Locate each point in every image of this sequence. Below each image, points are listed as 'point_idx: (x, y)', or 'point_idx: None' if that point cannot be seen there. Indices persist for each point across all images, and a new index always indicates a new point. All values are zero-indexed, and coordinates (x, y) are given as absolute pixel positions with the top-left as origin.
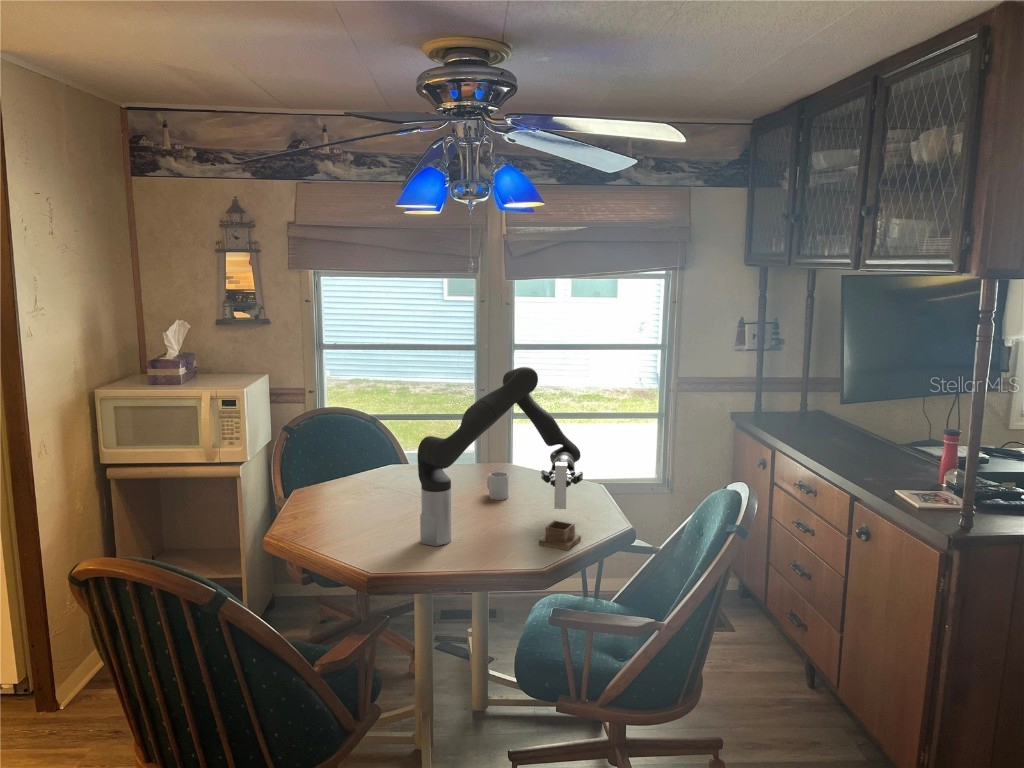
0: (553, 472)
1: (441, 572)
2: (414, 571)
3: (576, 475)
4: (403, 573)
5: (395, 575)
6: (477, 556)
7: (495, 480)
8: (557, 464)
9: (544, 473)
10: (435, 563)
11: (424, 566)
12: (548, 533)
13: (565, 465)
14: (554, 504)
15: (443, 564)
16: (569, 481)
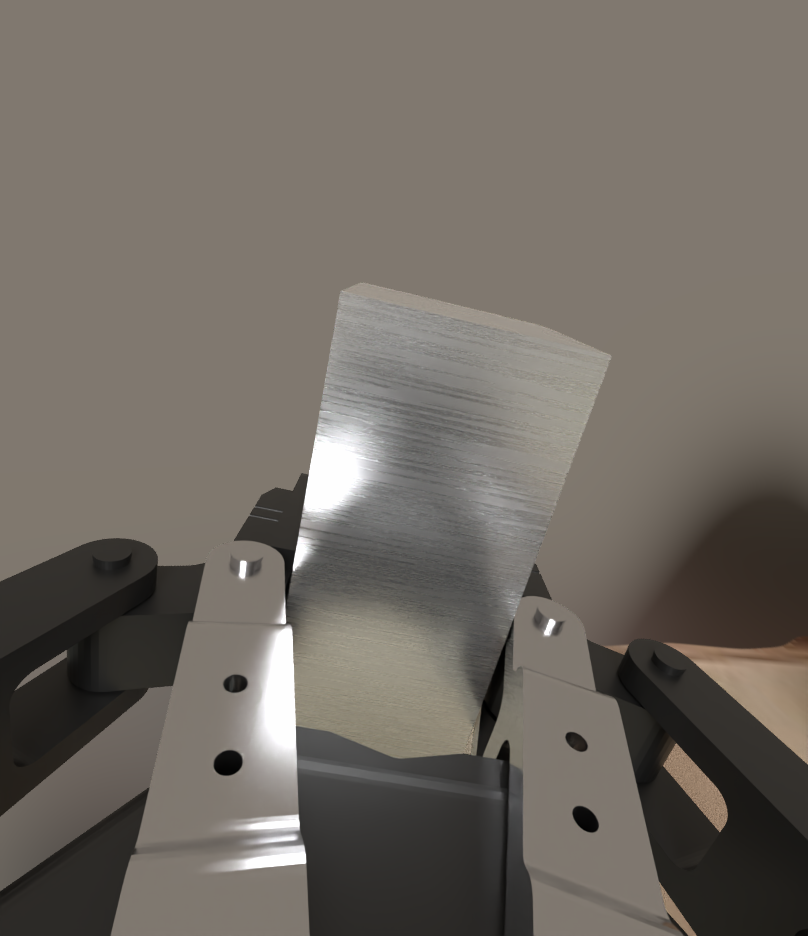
0: (607, 698)
1: (697, 651)
2: (773, 663)
3: (59, 578)
4: (786, 655)
5: (792, 646)
6: (687, 772)
7: None
8: (516, 321)
9: (795, 760)
10: (774, 713)
11: (782, 693)
12: None
13: (383, 288)
14: None
15: (742, 704)
16: (283, 491)
